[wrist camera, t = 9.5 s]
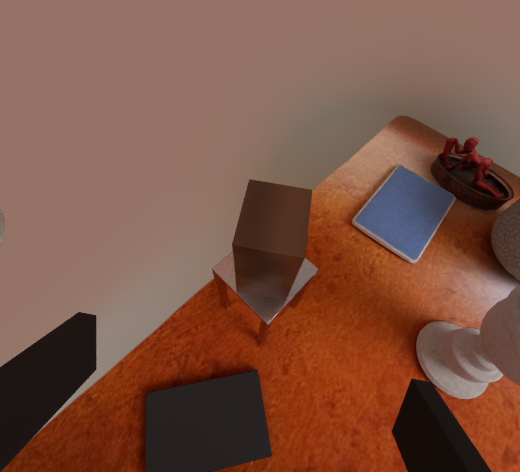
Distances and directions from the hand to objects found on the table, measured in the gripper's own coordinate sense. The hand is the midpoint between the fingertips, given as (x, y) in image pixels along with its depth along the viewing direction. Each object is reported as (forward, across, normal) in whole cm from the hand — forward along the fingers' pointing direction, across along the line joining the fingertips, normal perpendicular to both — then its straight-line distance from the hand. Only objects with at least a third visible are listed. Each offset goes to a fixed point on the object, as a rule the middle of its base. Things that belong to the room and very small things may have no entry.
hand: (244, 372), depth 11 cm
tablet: (+43, +23, +4) cm, 49 cm away
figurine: (+50, +36, +11) cm, 63 cm away
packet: (+17, 0, -2) cm, 17 cm away
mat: (+16, -4, -23) cm, 28 cm away
